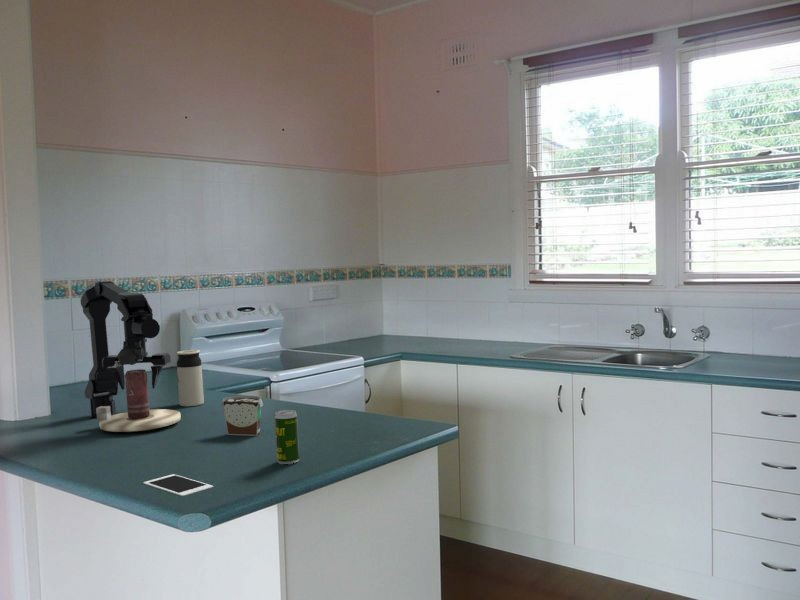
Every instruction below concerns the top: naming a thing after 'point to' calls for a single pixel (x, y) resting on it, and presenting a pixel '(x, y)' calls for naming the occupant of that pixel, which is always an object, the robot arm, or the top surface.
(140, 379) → the can
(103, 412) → the turntable
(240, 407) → the food container
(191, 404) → the travel mug
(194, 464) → the top surface
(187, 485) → the cell phone
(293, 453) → the beer can
